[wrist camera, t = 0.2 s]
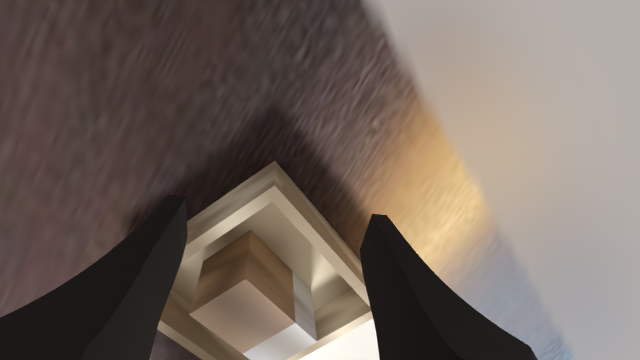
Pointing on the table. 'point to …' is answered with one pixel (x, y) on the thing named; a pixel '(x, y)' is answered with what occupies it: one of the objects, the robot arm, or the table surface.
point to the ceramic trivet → (350, 346)
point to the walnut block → (254, 301)
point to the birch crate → (287, 243)
